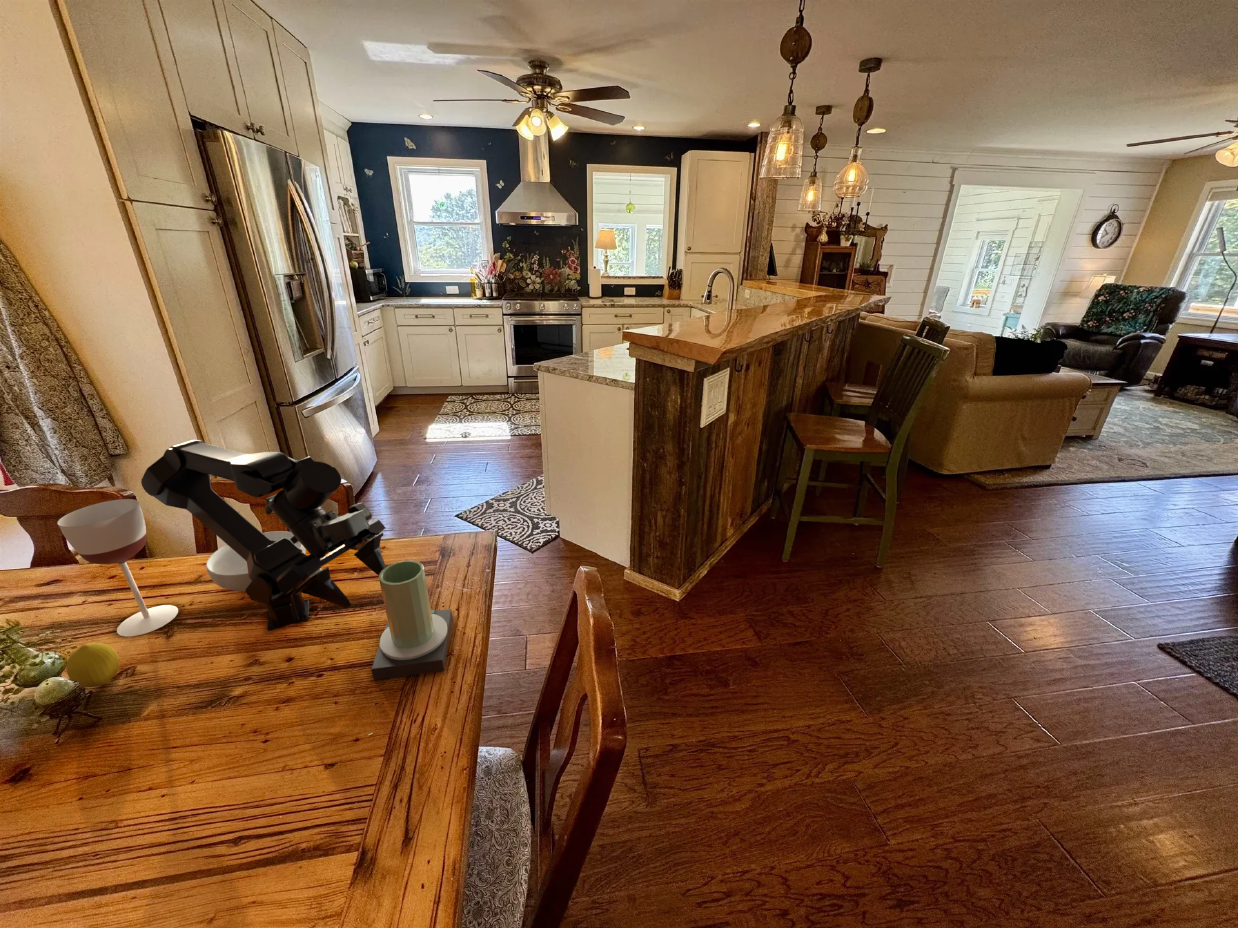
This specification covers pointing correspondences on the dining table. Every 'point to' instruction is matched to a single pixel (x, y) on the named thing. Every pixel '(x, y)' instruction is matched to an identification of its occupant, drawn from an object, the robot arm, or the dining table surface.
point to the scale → (414, 651)
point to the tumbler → (407, 603)
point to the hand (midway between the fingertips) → (368, 591)
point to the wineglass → (116, 552)
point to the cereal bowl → (237, 564)
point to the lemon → (93, 664)
